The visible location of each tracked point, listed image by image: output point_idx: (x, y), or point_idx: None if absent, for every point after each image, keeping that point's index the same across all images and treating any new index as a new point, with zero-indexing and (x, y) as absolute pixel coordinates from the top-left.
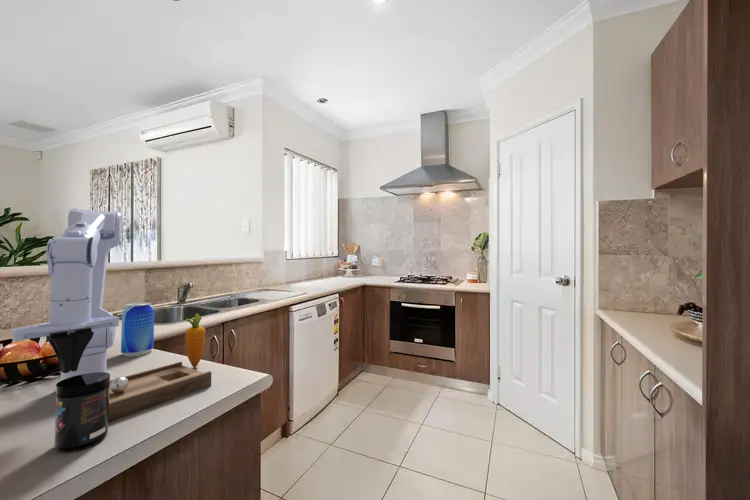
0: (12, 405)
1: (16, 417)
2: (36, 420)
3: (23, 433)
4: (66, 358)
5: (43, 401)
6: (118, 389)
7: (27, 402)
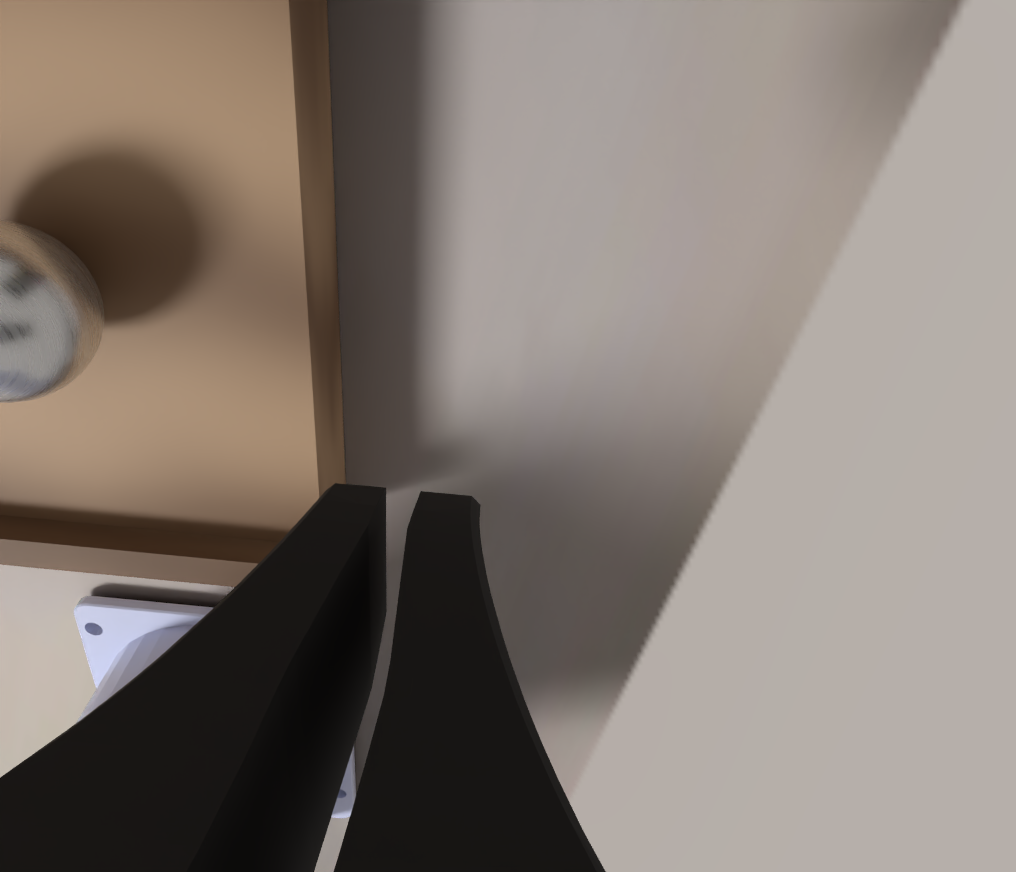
0: None
1: (611, 621)
2: (575, 479)
3: (708, 334)
4: (451, 646)
5: None
6: (34, 230)
7: None
